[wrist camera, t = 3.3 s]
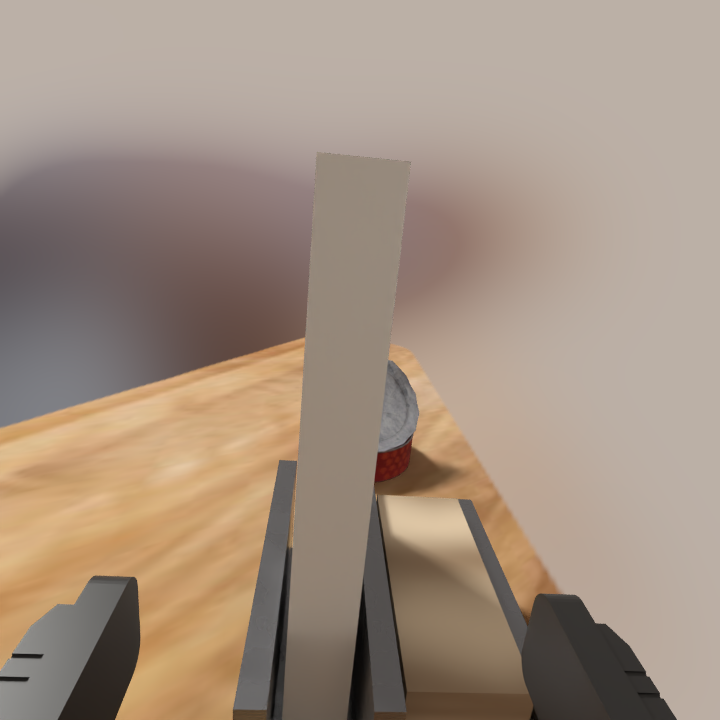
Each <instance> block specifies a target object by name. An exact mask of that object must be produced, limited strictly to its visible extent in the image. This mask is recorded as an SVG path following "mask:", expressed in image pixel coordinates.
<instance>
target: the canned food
mask: <svg viewBox="0 0 720 720" xmlns="http://www.w3.org/2000/svg"><path fill="white" fill-rule="evenodd" d="M418 416H419V410H418V405H417V400H416V394H415V392H414V390H413V389H412V387H411V385H410V383H409V381H408V379H407V376H406V375H405V374H404V373H403V372H402V371H401V369H400V368H399V367H398V366H397V365H396V364H395V363H394V362H393V361H390V360H388V365H387V374H386V383H385V392H384V400H383V409H382V418H381V426H380V435H379V444H378V453H377V461H376V470H375V479H374V482H381V481H385V480H389V479H392V478H394V477H396V476H398V475H400V474H401V473H403V472H404V471H405V470H406V468H407V467H408V464H409V459H410V452H411V445H412V438H413V433H414V432H415V430H416V425H417V421H418Z"/></svg>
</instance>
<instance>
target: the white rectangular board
mask: <svg viewBox="0 0 720 720" xmlns="http://www.w3.org/2000/svg"><path fill="white" fill-rule="evenodd" d="M410 165H411V162H409V161H399V160H389V159H379V158H370V157H360V156H350V155H340V154H330V153H320V152H317V157H316V173H315V191H314V206H313V222H312V239H311V256H310V272H309V288H308V289H309V290H308V305H307V320H306V336H305V353H304V369H303V385H302V402H301V418H300V434H299V451H298V467H297V483H296V500H295V516H294V532H293V549H292V565H291V581H290V598H289V614H288V630H287V647H286V663H285V679H284V696H283V712H282V720H347V714H348V705H349V696H350V688H351V679H352V670H353V661H354V653H355V644H356V635H357V627H358V618H359V609H360V600H361V592H362V583H363V574H364V566H365V557H366V548H367V540H368V531H369V522H370V513H371V505H372V496H373V487H374V479H375V470H376V461H377V453H378V444H379V435H380V426H381V418H382V409H383V400H384V392H385V383H386V374H387V365H388V357H389V348H390V339H391V331H392V321H393V313H394V304H395V296H396V287H397V278H398V270H399V261H400V252H401V244H402V235H403V225H404V217H405V208H406V200H407V191H408V183H409V174H410Z"/></svg>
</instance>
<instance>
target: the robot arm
mask: <svg viewBox="0 0 720 720" xmlns="http://www.w3.org/2000/svg"><path fill="white" fill-rule="evenodd" d="M139 648H140V621H139V602H138V584H137V580H136V578H135V577H119V576H93V577H92V578H91V579H90V580H89V582H88V583H87V585H86V586H85V588H84V590H83V591H82V593H81V595H80V596H79V598H78V600H77V601H76V603H75V604H74V605H65V604H57V605H56V606H55V607H54V608H53V609H51V610H50V611H49V612H48V613H46V614H45V615H44V616H43V617H42V618H40V619H39V620H38V621H37V622H35V623H34V624H33V625H32V626H31V627H30V628H29V630H28V631H27V633H26V634H25V635H24V637H23V638H22V640H21V641H20V643H19V644H18V646H17V647H16V649H15V650H14V652H13V653H12V657H11V659H8V660H7V662H6V663H5V665H4V666H3V668H2V669H1V671H0V720H115V718H116V715H117V713H118V710H119V708H120V706H121V703H122V701H123V698H124V696H125V693H126V691H127V688H128V686H129V683H130V681H131V678H132V676H133V673H134V670H135V667H136V663H137V659H138V654H139ZM521 661H522V672H523V677H524V681H525V684H526V687H527V690H528V692H529V695H530V698H531V700H532V703H533V705H534V708H535V710H536V713H537V716H538V718H539V720H677V719H676V718H675V716H674V715H673V713H672V711H671V710H670V708H669V707H668V705H667V704H666V702H665V700H664V699H661V698H660V693H659V691H658V690H657V688H656V687H655V685H654V684H653V682H652V681H651V679H650V677H647V676H646V671H645V670H644V668H643V667H642V665H641V663H640V662H639V660H638V659H637V657H636V656H635V654H634V652H633V651H632V649H631V648H630V646H629V645H628V644H627V643H625V642H624V641H623V640H622V639H621V638H620V637H619V636H618V635H617V634H616V633H615V632H613V630H612V629H610V628H609V627H608V626H607V625H606V624H596V623H595V622H594V620H593V618H592V617H591V615H590V614H589V612H588V610H587V608H586V607H585V605H584V603H583V602H582V600H581V599H580V598H579V597H578V596H576V595H563V594H538V595H537V596H536V598H535V600H534V604H533V608H532V612H531V616H530V620H529V624H528V628H527V632H526V636H525V640H524V644H523V648H522V657H521Z"/></svg>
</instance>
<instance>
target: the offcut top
mask: <svg viewBox="0 0 720 720" xmlns="http://www.w3.org/2000/svg"><path fill="white" fill-rule="evenodd" d="M376 504H377V511H378V518H379V524H380V531H381V538H382V545H383V552H384V559H385V566H386V573H387V580H388V587H389V594H390V601H391V608H392V614H393V621H394V628H395V635H396V642H397V649H398V656H399V663H400V670H401V677H402V684H403V691H404V697H405V704H406V711H407V713H406V719H405V720H530V717H531V713H532V709H533V706H534V705H533V703H532V700H531V698H530V695H529V692H528V690H527V687H526V684H525V681H524V677H523V672H522V661H521V655H520V652H519V650H518V647H517V645H516V642H515V640H514V637H513V635H512V632H511V630H510V627H509V625H508V623H507V620H506V618H505V615H504V613H503V610H502V608H501V605H500V603H499V600H498V598H497V595H496V593H495V590H494V588H493V586H492V583H491V581H490V578H489V576H488V573H487V571H486V568H485V566H484V563H483V561H482V558H481V556H480V553H479V551H478V549H477V546H476V544H475V541H474V539H473V536H472V534H471V531H470V529H469V526H468V524H467V521H466V519H465V516H464V514H463V511H462V509H461V507H460V504H459V502H458V499H453V498H433V497H413V496H392V495H377V502H376Z"/></svg>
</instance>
